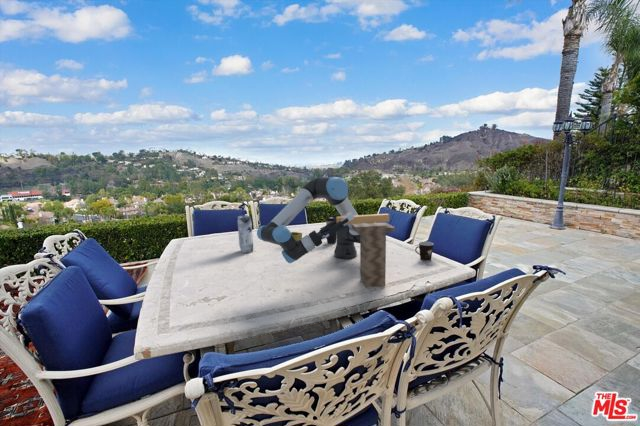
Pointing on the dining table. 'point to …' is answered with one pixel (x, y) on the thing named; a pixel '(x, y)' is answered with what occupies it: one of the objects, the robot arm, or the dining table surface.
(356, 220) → the brown block
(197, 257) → the dining table surface
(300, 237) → the flower pot
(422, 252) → the coffee mug
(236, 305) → the dining table surface
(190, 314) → the dining table surface
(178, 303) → the dining table surface
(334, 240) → the travel mug
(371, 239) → the walnut stand
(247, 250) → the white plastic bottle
